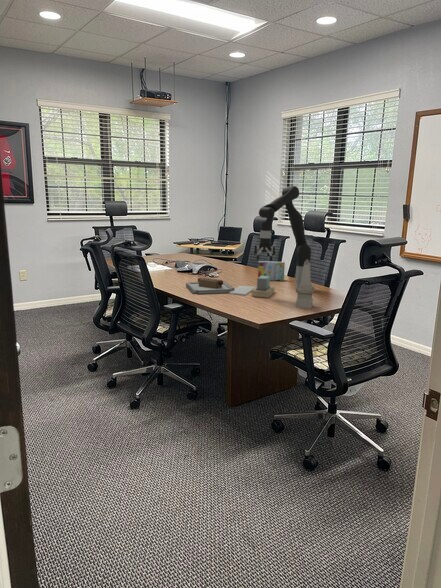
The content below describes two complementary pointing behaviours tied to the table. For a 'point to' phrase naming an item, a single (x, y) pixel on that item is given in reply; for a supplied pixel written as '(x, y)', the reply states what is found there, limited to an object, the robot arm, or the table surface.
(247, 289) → the mat
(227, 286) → the gray tray
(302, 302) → the miniature monument
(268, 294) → the carton
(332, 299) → the table surface
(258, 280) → the box
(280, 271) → the snack box
